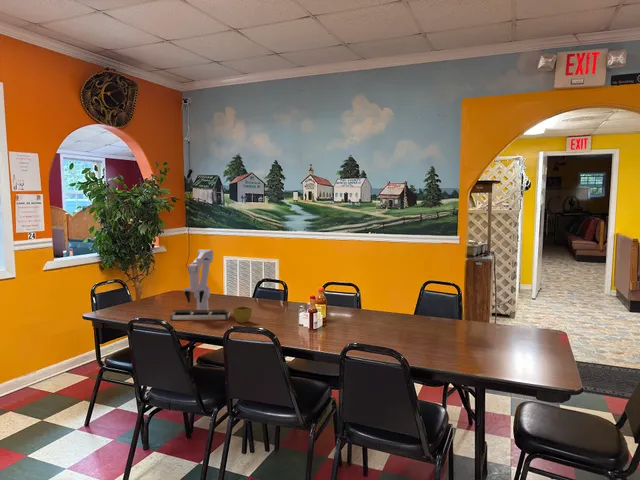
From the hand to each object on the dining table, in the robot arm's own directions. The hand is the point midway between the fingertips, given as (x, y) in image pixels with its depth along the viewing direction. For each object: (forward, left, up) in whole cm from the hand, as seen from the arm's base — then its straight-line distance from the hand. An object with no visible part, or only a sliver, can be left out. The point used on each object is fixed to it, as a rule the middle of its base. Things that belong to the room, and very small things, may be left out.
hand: (194, 302), depth 299 cm
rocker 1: (+4, +5, -5) cm, 8 cm away
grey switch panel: (+4, +5, -10) cm, 11 cm away
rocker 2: (+4, +17, -5) cm, 18 cm away
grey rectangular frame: (+4, -7, -5) cm, 10 cm away
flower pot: (+15, +34, -10) cm, 38 cm away
